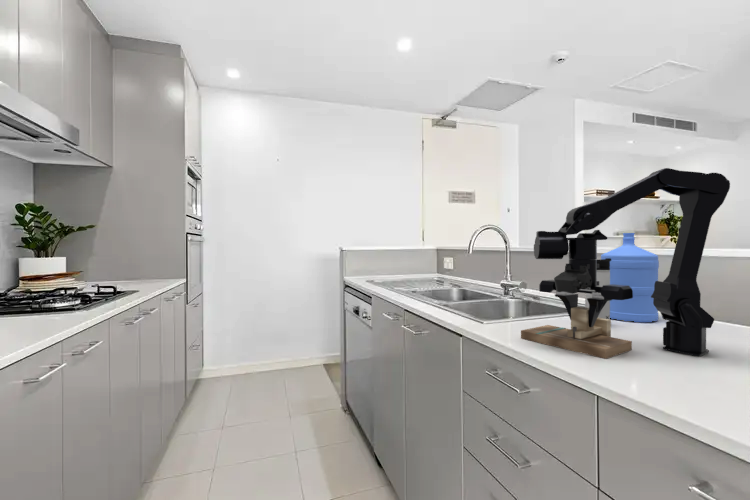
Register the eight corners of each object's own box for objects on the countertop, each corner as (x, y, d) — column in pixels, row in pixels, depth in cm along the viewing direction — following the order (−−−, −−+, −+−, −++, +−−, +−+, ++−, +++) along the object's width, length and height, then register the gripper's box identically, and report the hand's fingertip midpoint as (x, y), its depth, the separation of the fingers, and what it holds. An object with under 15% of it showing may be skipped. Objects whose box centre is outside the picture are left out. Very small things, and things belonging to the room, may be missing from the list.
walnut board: (631, 349, 81) (631, 340, 81) (605, 358, 74) (606, 348, 74) (547, 332, 98) (547, 324, 98) (520, 338, 91) (520, 330, 91)
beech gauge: (610, 340, 87) (610, 306, 87) (584, 347, 80) (585, 311, 80) (589, 335, 91) (589, 303, 91) (562, 342, 84) (563, 308, 84)
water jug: (671, 323, 110) (672, 232, 109) (620, 323, 110) (620, 232, 109) (635, 313, 125) (635, 234, 125) (590, 313, 125) (590, 234, 125)
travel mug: (614, 328, 103) (615, 258, 103) (589, 327, 104) (590, 258, 104) (605, 323, 109) (606, 258, 109) (581, 322, 110) (582, 257, 110)
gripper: (526, 259, 87) (526, 322, 88) (609, 261, 72) (609, 338, 72) (551, 258, 94) (551, 317, 94) (633, 260, 78) (633, 331, 78)
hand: (582, 325), depth 84 cm, fingers closed on beech gauge, 3 cm apart
